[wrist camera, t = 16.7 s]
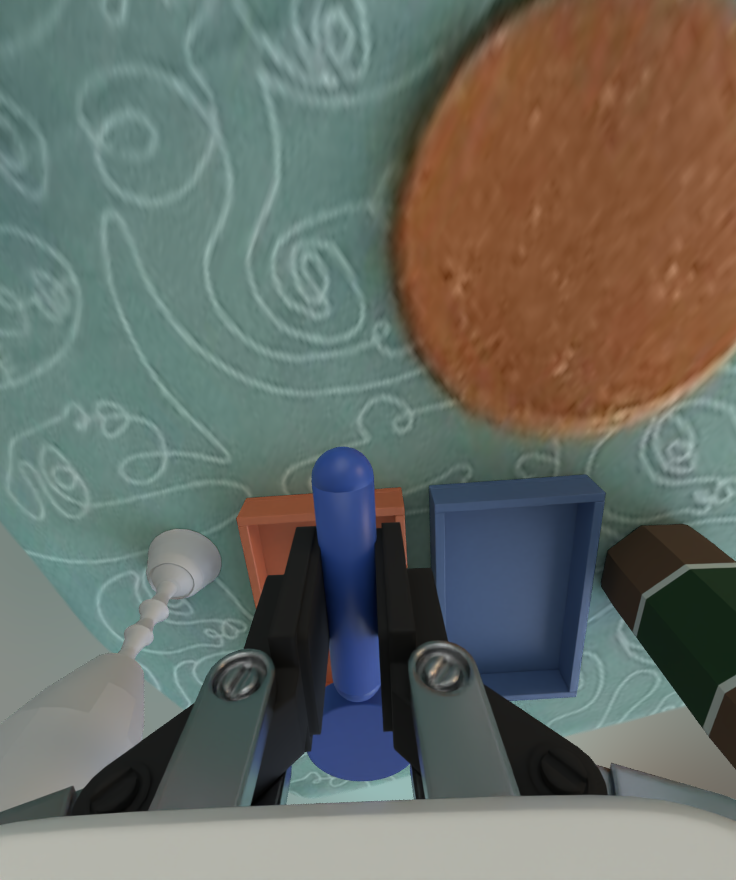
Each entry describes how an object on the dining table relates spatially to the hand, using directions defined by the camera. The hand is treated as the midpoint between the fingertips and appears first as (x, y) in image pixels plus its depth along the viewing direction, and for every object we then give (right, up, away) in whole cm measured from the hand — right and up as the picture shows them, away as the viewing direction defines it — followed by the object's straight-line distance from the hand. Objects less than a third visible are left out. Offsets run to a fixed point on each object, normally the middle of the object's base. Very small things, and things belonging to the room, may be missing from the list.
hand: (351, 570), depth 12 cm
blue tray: (+10, -7, +19) cm, 23 cm away
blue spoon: (0, -2, +1) cm, 2 cm away
